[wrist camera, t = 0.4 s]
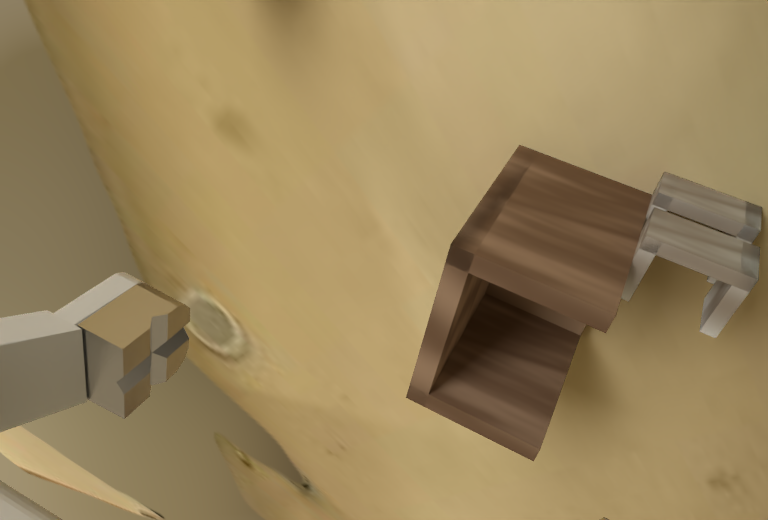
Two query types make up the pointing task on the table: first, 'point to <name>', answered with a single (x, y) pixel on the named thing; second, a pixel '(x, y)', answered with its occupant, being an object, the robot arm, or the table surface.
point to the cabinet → (563, 285)
